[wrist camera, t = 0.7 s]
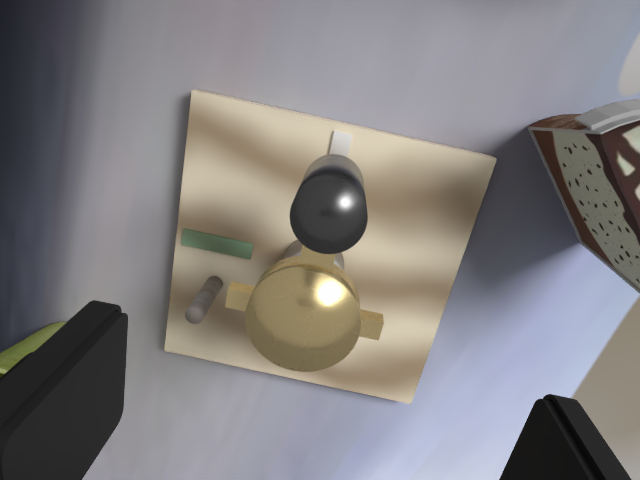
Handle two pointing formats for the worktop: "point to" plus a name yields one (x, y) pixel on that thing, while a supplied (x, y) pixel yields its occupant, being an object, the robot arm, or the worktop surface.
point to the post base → (378, 263)
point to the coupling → (313, 277)
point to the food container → (598, 179)
